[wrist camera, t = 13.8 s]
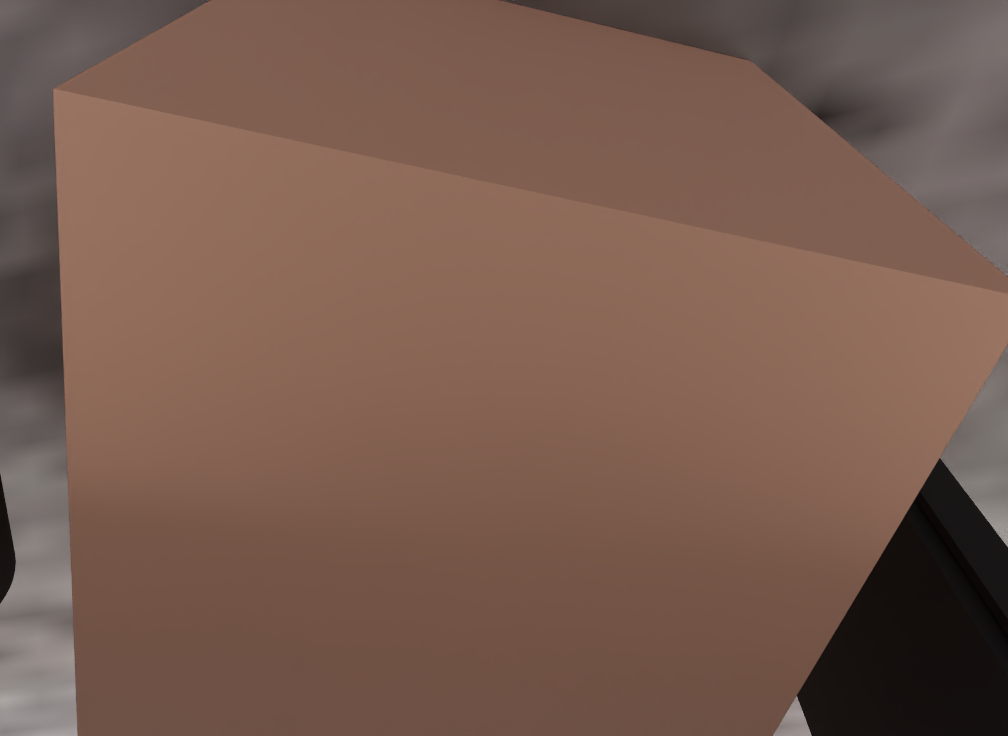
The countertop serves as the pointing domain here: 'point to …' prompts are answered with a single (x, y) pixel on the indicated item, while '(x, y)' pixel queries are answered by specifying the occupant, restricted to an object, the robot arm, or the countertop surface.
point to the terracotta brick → (481, 375)
